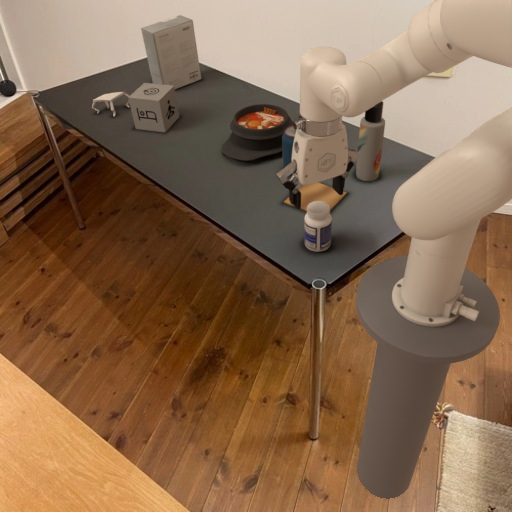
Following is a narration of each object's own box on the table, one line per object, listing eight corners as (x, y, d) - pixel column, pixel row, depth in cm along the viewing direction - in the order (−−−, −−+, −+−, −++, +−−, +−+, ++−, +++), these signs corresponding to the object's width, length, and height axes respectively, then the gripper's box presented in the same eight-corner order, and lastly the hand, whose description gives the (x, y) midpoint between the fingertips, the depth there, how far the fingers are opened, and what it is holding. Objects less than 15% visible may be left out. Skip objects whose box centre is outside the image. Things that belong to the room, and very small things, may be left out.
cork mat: (347, 193, 123) (347, 192, 122) (323, 217, 116) (323, 216, 116) (308, 180, 128) (308, 179, 128) (283, 202, 122) (283, 201, 121)
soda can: (314, 175, 129) (315, 133, 121) (289, 182, 128) (289, 140, 119) (302, 162, 134) (302, 120, 126) (278, 169, 132) (277, 127, 124)
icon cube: (135, 128, 153) (128, 97, 146) (151, 113, 160) (144, 82, 153) (165, 132, 150) (158, 100, 144) (179, 116, 157) (174, 85, 150)
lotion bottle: (382, 172, 128) (391, 98, 115) (373, 184, 125) (382, 108, 111) (361, 167, 131) (368, 93, 117) (352, 178, 127) (358, 103, 114)
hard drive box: (189, 73, 181) (181, 14, 168) (202, 79, 177) (194, 19, 163) (152, 87, 174) (140, 27, 161) (164, 94, 170) (152, 32, 156)
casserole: (267, 117, 154) (266, 90, 148) (316, 136, 144) (316, 108, 138) (206, 151, 141) (203, 124, 135) (255, 175, 131) (253, 146, 125)
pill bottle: (328, 234, 112) (330, 197, 105) (332, 251, 108) (334, 214, 101) (302, 236, 112) (303, 199, 105) (305, 253, 108) (305, 216, 101)
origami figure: (105, 121, 158) (101, 106, 155) (92, 112, 163) (88, 98, 159) (138, 107, 163) (135, 93, 160) (125, 100, 168) (121, 85, 165)
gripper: (287, 143, 86) (287, 221, 97) (373, 118, 90) (363, 196, 102) (267, 124, 91) (270, 200, 102) (350, 101, 95) (343, 177, 107)
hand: (316, 198), depth 102 cm, fingers open, 9 cm apart
